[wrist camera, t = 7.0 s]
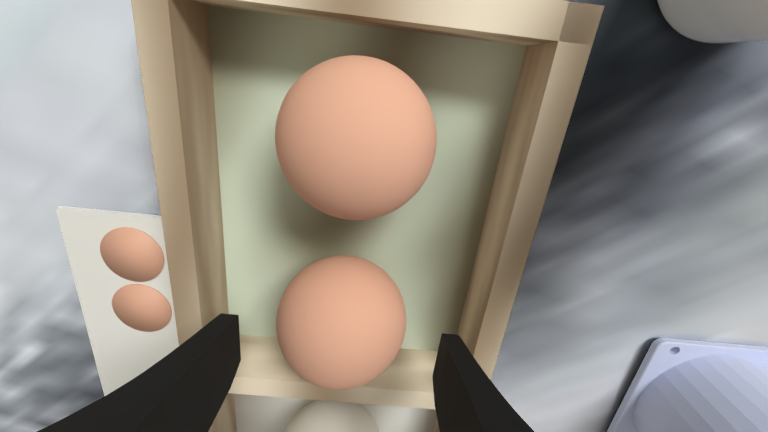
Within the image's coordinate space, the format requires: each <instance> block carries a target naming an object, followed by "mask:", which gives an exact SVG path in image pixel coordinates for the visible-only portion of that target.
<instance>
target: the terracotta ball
mask: <svg viewBox="0 0 768 432" xmlns="http://www.w3.org/2000/svg"><path fill="white" fill-rule="evenodd" d="M276 331H277V339H278V343H279V346H280V349H281V351H282V354H283V356H284V357H285V359H286V361H287V362H288V364H289V365H290V367H291V368H292V369H293V370H294V371H295V372H296V373H297V374H298V375H299V376H300V377H302V378H303V379H305V380H306V381H308V382H310V383H311V384H314V385H316V386H319V387H322V388H326V389H333V390H346V389H353V388H357V387H360V386H362V385H365V384H367V383H369V382H371V381H372V380H374V379H376V378H377V377H379V376H380V375H381V374H382V373H383V372H384V371H385V370H386V369H387V368H388V367H389V366H390V365H391V364H392V362H393V361H394V359H395V358H396V356H397V355H398V353H399V350H400V348H401V346H402V343H403V340H404V336H405V331H406V310H405V305H404V301H403V298H402V295H401V293H400V291H399V289H398V287H397V285H396V284H395V282H394V281H393V280H392V278H391V277H390V276H389V275H388V274H387V273H386V272H385V271H384V270H383V269H382V268H380V267H379V266H378V265H376V264H374V263H372V262H371V261H368V260H366V259H364V258H360V257H356V256H350V255H337V256H331V257H326V258H323V259H320V260H318V261H316V262H314V263H312V264H310V265H309V266H307V267H306V268H304V269H303V270H302V271H300V272H299V273H298V274H297V275H296V276H295V277H294V279H293V280H292V281H291V282H290V283H289V285H288V286H287V288H286V290H285V291H284V293H283V295H282V298H281V300H280V303H279V307H278V311H277V319H276Z"/></svg>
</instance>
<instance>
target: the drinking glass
mask: <svg viewBox="0 0 768 432" xmlns="http://www.w3.org/2000/svg"><path fill="white" fill-rule="evenodd" d="M657 2H658V5H659V8H660V10H661V13H662V14H663V16H664V18H665V20H666V21H667V22H668V24H669V25H670V26H671V27H672V28H673V29H674V30H676V31H677V32H678V33H680V34H681V35H683V36H685V37H687V38H689V39H692V40H695V41H699V42H705V43H734V42H750V41H768V0H657Z"/></svg>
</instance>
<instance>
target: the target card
mask: <svg viewBox="0 0 768 432" xmlns="http://www.w3.org/2000/svg"><path fill="white" fill-rule="evenodd" d="M56 212H57V215H58V219H59V223H60V227H61V231H62V235H63V239H64V242H65V246H66V250H67V254H68V258H69V262H70V265H71V269H72V273H73V277H74V281H75V285H76V289H77V292H78V296H79V300H80V304H81V308H82V312H83V315H84V319H85V323H86V327H87V331H88V335H89V339H90V342H91V346H92V350H93V354H94V358H95V362H96V365H97V369H98V373H99V377H100V381H101V385H102V389H103V392H104V396H106V395H108V394H109V393H111V392H113V391H114V390H116V389H118V388H119V387H121V386H123V385H124V384H126V383H127V382H129V381H131V380H132V379H134V378H135V377H137V376H138V375H140V374H141V373H143V372H144V371H146V370H147V369H148V368H150V367H151V366H153V365H154V364H156V363H157V362H158V361H160V360H161V359H163V358H164V357H165V356H167V355H168V354H169V353H171V352H172V351H173V350H175V349H176V348H177V347H179V342H178V335H177V327H176V320H175V313H174V306H173V299H172V291H171V284H170V277H169V270H168V263H167V255H166V248H165V241H164V234H163V227H162V219H161V215H151V214H141V213H131V212H121V211H111V210H101V209H91V208H81V207H70V206H59V207H57V208H56Z"/></svg>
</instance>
